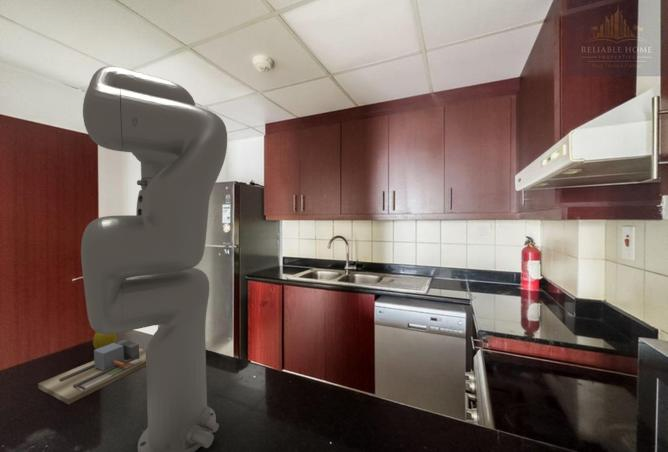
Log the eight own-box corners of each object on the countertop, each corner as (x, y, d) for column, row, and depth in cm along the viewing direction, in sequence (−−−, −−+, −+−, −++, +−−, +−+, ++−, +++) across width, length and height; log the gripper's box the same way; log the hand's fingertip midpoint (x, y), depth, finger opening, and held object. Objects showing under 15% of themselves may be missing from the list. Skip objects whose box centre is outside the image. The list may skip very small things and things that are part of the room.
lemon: (122, 348, 82) (121, 323, 81) (105, 357, 76) (104, 330, 76) (106, 347, 82) (105, 322, 82) (88, 356, 77) (87, 330, 76)
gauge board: (160, 358, 75) (159, 340, 75) (68, 404, 57) (67, 381, 57) (130, 349, 81) (129, 332, 81) (38, 388, 62) (37, 367, 62)
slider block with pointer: (132, 364, 70) (132, 348, 69) (113, 374, 65) (112, 356, 65) (114, 358, 73) (113, 342, 73) (94, 367, 69) (93, 350, 68)
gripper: (138, 182, 66) (140, 254, 67) (190, 188, 80) (191, 247, 81) (120, 184, 69) (122, 252, 70) (173, 189, 83) (174, 246, 84)
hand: (159, 249), depth 75 cm, fingers closed
